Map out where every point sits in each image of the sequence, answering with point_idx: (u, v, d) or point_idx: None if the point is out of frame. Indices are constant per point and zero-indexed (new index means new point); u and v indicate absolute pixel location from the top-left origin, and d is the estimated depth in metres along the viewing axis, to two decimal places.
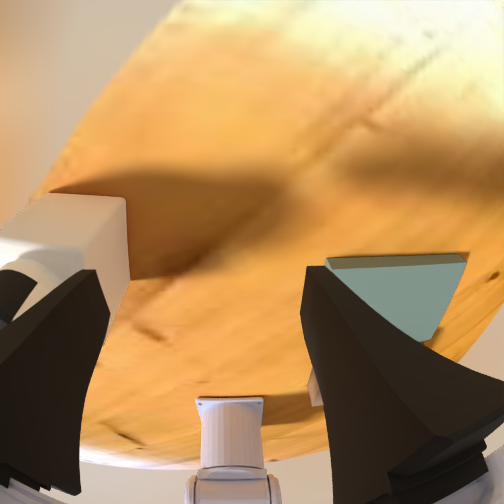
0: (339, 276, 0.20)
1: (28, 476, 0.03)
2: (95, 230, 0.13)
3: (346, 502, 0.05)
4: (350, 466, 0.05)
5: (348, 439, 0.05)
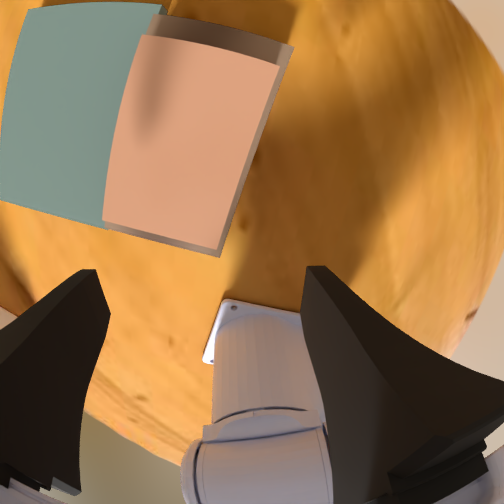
0: (5, 192, 0.14)
1: (28, 476, 0.03)
2: None
3: (346, 502, 0.05)
4: (349, 466, 0.05)
5: (348, 439, 0.05)
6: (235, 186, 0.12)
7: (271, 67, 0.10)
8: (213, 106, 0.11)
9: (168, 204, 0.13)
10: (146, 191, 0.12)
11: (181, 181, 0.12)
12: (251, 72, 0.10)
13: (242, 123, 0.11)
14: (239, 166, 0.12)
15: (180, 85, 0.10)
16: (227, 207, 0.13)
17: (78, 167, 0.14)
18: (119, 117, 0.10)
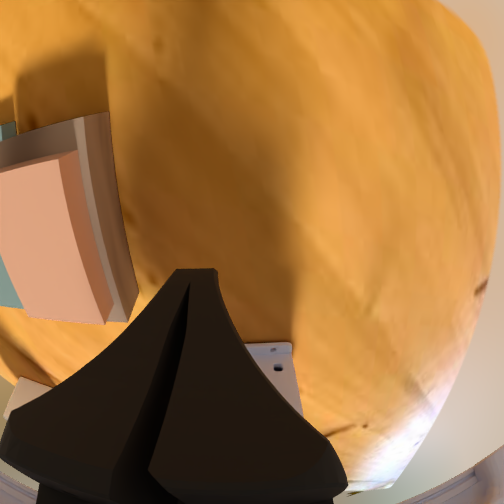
0: None
1: None
2: None
3: None
4: None
5: None
6: (85, 274, 0.12)
7: (53, 164, 0.09)
8: (37, 218, 0.10)
9: (55, 299, 0.13)
10: (38, 292, 0.13)
11: (52, 280, 0.12)
12: (43, 177, 0.09)
13: (59, 223, 0.11)
14: (77, 258, 0.12)
15: (13, 210, 0.10)
16: (90, 291, 0.13)
17: None
18: None
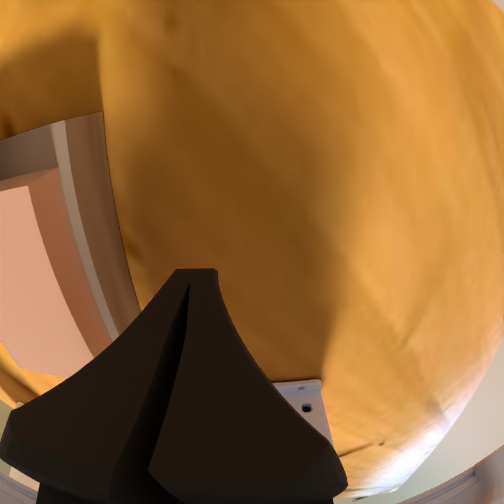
0: None
1: None
2: None
3: None
4: None
5: None
6: (80, 334, 0.09)
7: (21, 193, 0.06)
8: (10, 263, 0.07)
9: (46, 355, 0.09)
10: (26, 346, 0.09)
11: (40, 336, 0.09)
12: (11, 210, 0.06)
13: (39, 273, 0.07)
14: (68, 316, 0.08)
15: None
16: (88, 353, 0.09)
17: None
18: None
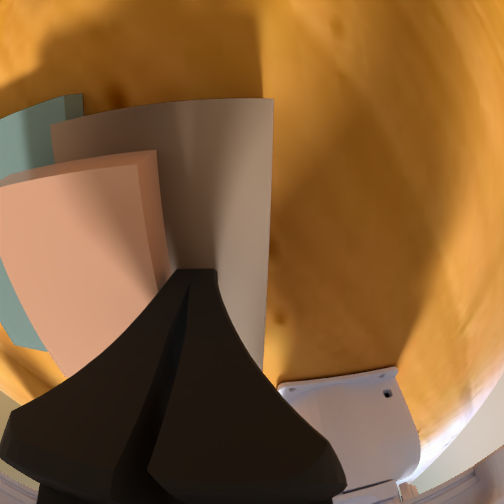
0: (15, 339, 0.14)
1: None
2: None
3: None
4: None
5: None
6: None
7: (125, 173, 0.06)
8: (87, 259, 0.07)
9: None
10: (83, 354, 0.09)
11: (108, 343, 0.09)
12: (103, 194, 0.06)
13: (131, 270, 0.07)
14: None
15: (41, 244, 0.07)
16: None
17: None
18: (16, 290, 0.08)
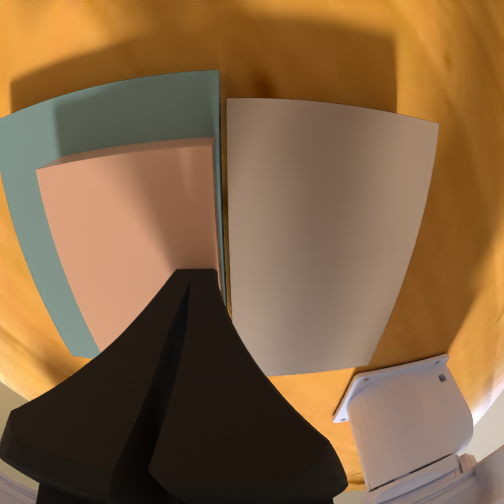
0: (76, 349, 0.14)
1: None
2: None
3: None
4: None
5: None
6: None
7: (200, 152, 0.07)
8: (152, 231, 0.09)
9: None
10: None
11: None
12: (177, 170, 0.08)
13: (195, 240, 0.09)
14: None
15: (103, 218, 0.08)
16: None
17: None
18: (65, 268, 0.09)
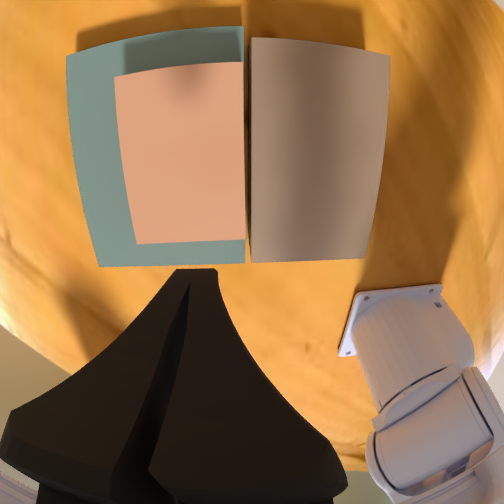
0: (104, 257, 0.17)
1: None
2: None
3: None
4: None
5: None
6: (243, 178, 0.14)
7: (235, 65, 0.11)
8: (199, 116, 0.12)
9: (190, 212, 0.14)
10: (167, 207, 0.14)
11: (194, 189, 0.14)
12: (220, 76, 0.11)
13: (229, 122, 0.12)
14: (240, 159, 0.13)
15: (164, 108, 0.11)
16: (242, 198, 0.14)
17: None
18: (122, 152, 0.12)
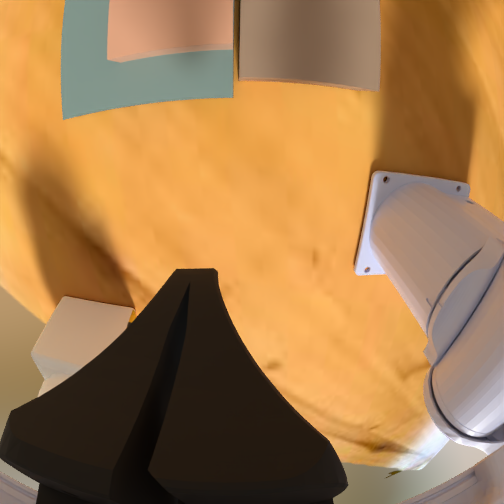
0: (71, 106, 0.12)
1: None
2: None
3: None
4: None
5: None
6: None
7: None
8: None
9: (172, 16, 0.09)
10: (148, 14, 0.09)
11: None
12: None
13: None
14: None
15: None
16: (230, 1, 0.09)
17: None
18: None
